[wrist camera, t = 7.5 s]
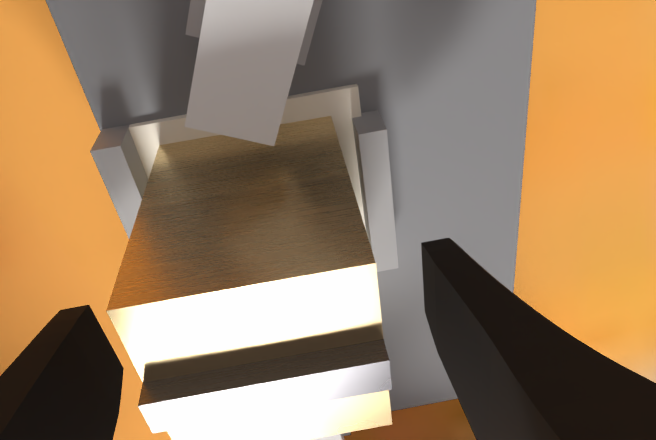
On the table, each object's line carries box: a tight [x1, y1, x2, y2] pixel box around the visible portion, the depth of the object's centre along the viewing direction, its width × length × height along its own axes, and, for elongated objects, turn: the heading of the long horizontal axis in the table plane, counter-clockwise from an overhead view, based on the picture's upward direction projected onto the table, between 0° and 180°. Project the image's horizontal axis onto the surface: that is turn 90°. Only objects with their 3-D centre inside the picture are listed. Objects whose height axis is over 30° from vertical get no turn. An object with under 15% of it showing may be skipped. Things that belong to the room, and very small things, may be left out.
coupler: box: [106, 116, 392, 440], centre depth 12 cm, size 4×4×6 cm
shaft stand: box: [46, 0, 536, 440], centre depth 15 cm, size 19×11×4 cm, turn 8°
